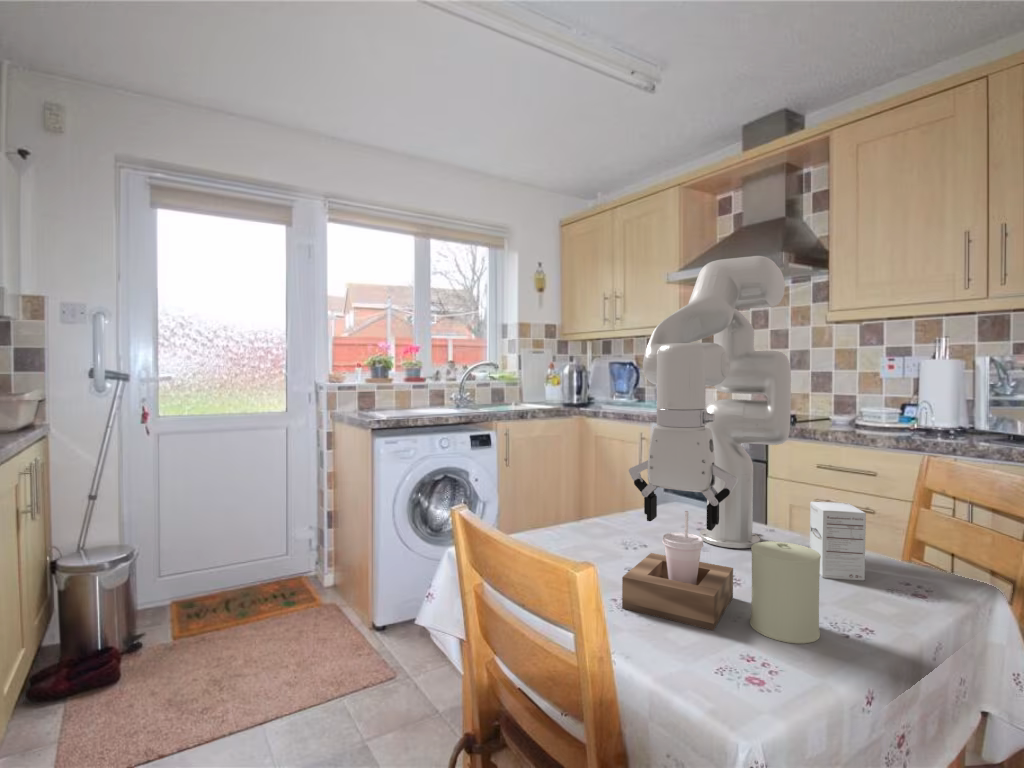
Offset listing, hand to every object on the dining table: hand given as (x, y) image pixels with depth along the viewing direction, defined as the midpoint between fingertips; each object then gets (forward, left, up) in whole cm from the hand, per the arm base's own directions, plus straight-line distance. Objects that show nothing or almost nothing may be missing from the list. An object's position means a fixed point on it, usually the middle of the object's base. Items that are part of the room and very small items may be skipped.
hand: (680, 523), depth 90 cm
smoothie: (0, +1, -12) cm, 12 cm away
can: (+1, +16, -13) cm, 20 cm away
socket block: (+1, 0, -13) cm, 13 cm away
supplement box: (-29, +21, -13) cm, 38 cm away
